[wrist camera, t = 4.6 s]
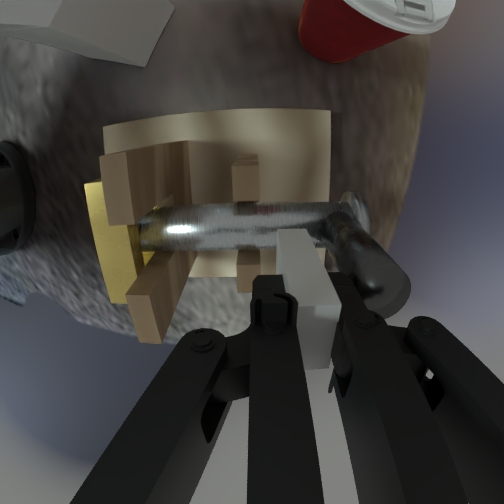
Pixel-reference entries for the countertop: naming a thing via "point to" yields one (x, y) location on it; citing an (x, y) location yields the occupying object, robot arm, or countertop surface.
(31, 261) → the countertop surface
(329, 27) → the coffee cup
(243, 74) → the countertop surface
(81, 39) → the milk carton
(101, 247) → the spacer
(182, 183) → the wooden stand with blocks
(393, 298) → the silver bent bar
